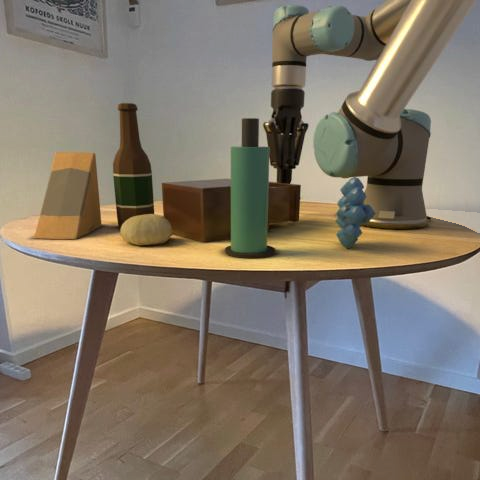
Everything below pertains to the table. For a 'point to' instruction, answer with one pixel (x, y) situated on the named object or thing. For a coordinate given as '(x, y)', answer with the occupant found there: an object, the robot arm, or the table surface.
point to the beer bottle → (131, 170)
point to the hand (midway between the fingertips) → (283, 196)
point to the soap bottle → (249, 191)
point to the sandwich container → (70, 198)
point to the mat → (268, 252)
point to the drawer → (284, 202)
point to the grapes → (352, 212)
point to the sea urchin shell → (146, 230)
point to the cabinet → (200, 208)
